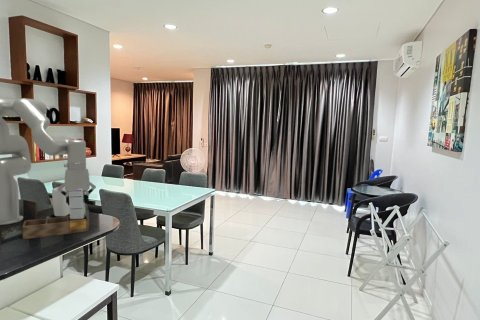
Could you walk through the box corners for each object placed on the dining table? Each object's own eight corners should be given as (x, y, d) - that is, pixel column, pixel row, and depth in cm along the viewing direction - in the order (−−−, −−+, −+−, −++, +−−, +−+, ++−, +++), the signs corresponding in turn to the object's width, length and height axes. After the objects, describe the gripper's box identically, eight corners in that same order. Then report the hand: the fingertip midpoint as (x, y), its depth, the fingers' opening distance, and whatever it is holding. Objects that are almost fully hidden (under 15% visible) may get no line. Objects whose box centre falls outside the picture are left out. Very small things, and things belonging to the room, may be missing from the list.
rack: (22, 239, 127) (22, 226, 126) (24, 232, 134) (24, 220, 134) (88, 231, 140) (88, 219, 139) (87, 225, 147) (87, 214, 147)
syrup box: (83, 218, 139) (83, 188, 137) (69, 219, 137) (68, 188, 135) (85, 215, 144) (85, 185, 143) (71, 215, 142) (71, 186, 141)
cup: (72, 213, 163) (72, 187, 162) (65, 217, 156) (64, 190, 154) (59, 213, 163) (58, 186, 161) (51, 217, 156) (50, 189, 154)
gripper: (54, 168, 130) (55, 207, 132) (98, 166, 139) (98, 204, 141) (55, 165, 136) (55, 203, 139) (96, 164, 145) (97, 200, 148)
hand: (77, 203), depth 140 cm, fingers closed on syrup box, 6 cm apart
